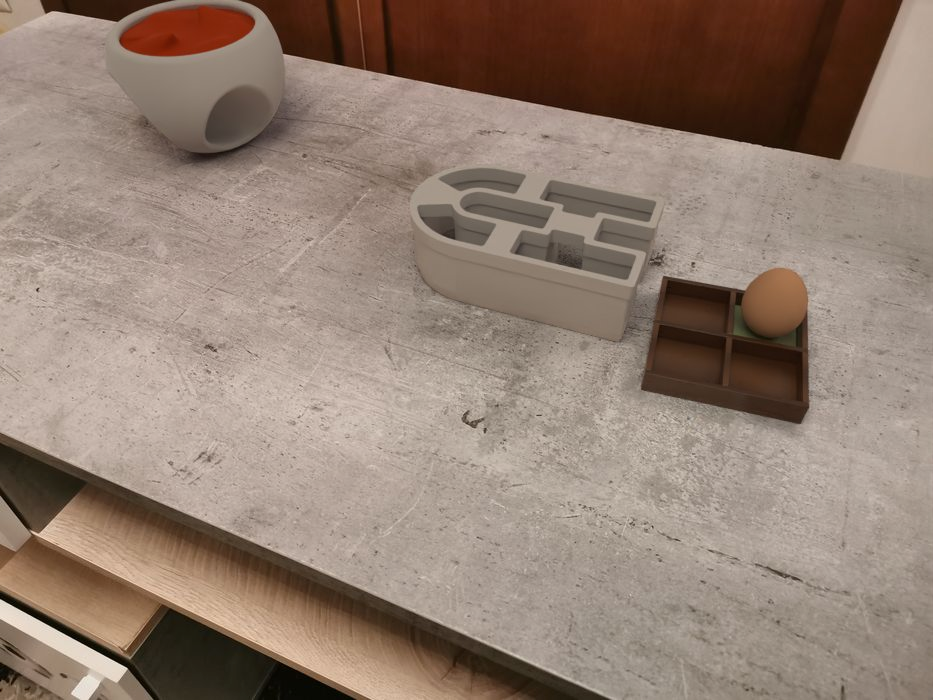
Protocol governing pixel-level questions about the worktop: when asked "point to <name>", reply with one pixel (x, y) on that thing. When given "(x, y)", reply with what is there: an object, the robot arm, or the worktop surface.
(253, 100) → the pot
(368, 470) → the worktop surface
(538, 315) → the grey compartment organizer
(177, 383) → the worktop surface
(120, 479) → the worktop surface
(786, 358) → the compartment tray
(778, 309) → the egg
